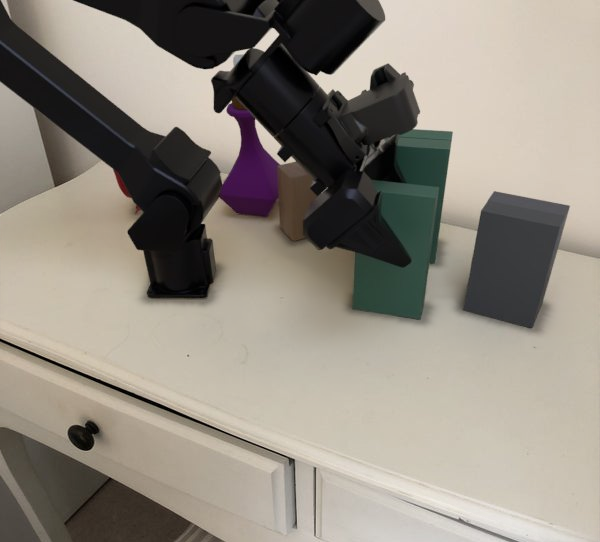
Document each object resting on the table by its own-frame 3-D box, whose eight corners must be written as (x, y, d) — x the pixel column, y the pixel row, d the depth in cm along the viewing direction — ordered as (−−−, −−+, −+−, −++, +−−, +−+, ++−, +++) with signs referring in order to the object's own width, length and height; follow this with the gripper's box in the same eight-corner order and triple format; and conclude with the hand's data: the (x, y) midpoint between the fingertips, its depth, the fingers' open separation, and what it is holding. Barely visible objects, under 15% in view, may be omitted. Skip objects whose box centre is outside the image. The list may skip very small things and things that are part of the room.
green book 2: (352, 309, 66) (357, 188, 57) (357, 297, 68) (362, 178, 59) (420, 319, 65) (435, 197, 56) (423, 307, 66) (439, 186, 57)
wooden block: (307, 220, 80) (306, 157, 75) (322, 234, 78) (322, 170, 72) (278, 228, 79) (275, 164, 73) (292, 242, 76) (290, 177, 71)
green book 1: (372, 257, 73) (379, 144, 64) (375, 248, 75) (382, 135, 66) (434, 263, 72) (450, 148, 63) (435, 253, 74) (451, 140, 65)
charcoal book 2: (468, 299, 67) (487, 200, 59) (475, 288, 68) (494, 190, 61) (536, 316, 64) (565, 215, 57) (541, 305, 66) (570, 205, 58)
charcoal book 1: (462, 310, 66) (480, 210, 58) (469, 299, 67) (487, 200, 59) (531, 328, 63) (560, 226, 56) (537, 316, 64) (565, 215, 57)
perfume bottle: (276, 224, 80) (267, 67, 67) (219, 218, 81) (200, 64, 69) (291, 197, 85) (286, 47, 72) (238, 192, 86) (223, 44, 74)
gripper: (345, 79, 44) (483, 239, 49) (380, 12, 57) (485, 144, 63) (244, 181, 51) (375, 311, 56) (296, 100, 64) (398, 212, 69)
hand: (412, 239), depth 61 cm, fingers open, 9 cm apart
